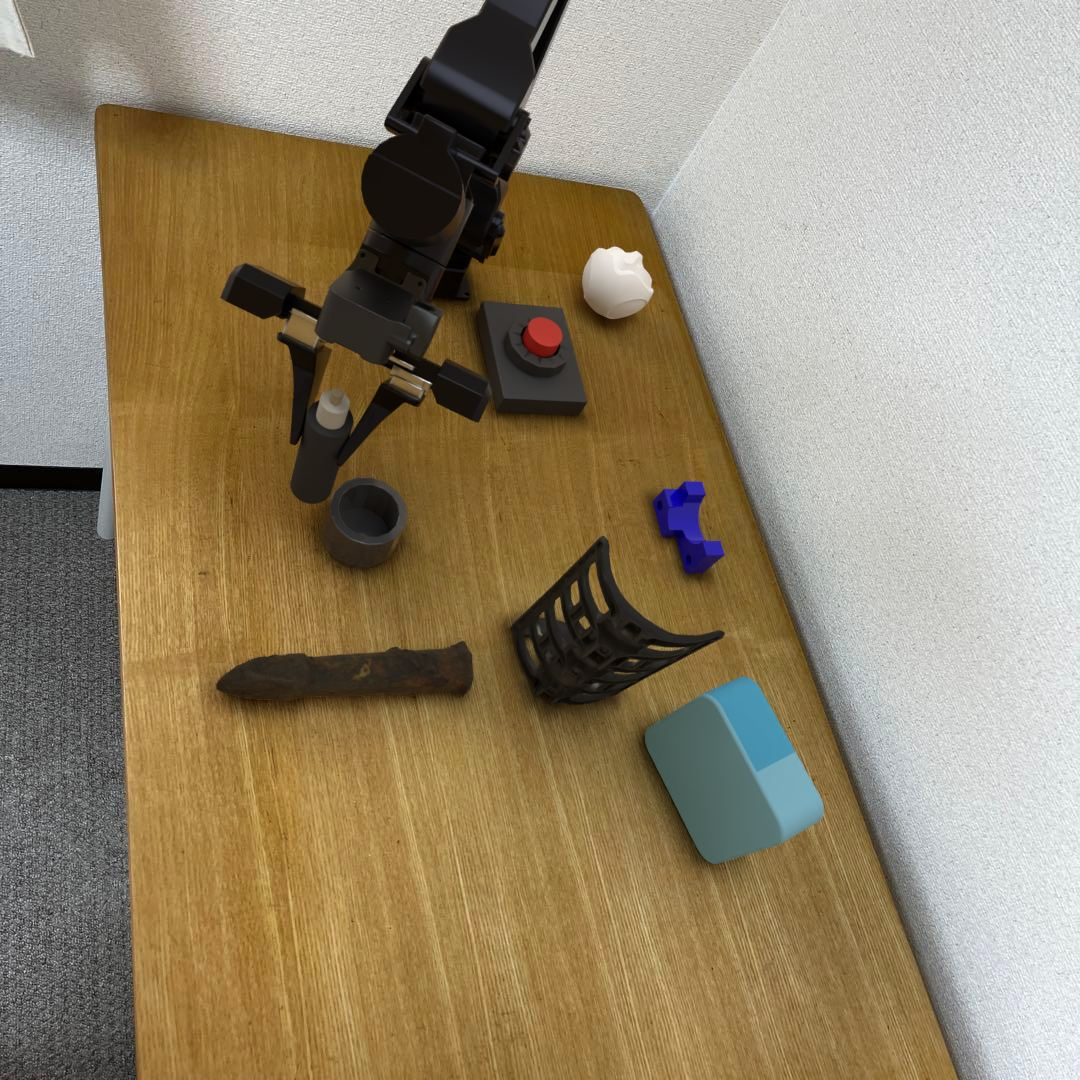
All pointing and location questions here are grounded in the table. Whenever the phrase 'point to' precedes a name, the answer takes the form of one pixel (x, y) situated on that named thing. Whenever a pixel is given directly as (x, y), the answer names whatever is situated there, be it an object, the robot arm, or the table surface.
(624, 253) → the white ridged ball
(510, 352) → the switch box
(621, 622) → the holder
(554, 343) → the power button
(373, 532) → the iron cup
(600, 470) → the table surface
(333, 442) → the capped grey cylinder
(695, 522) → the cable holder
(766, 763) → the data package
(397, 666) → the hand tool
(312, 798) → the table surface
